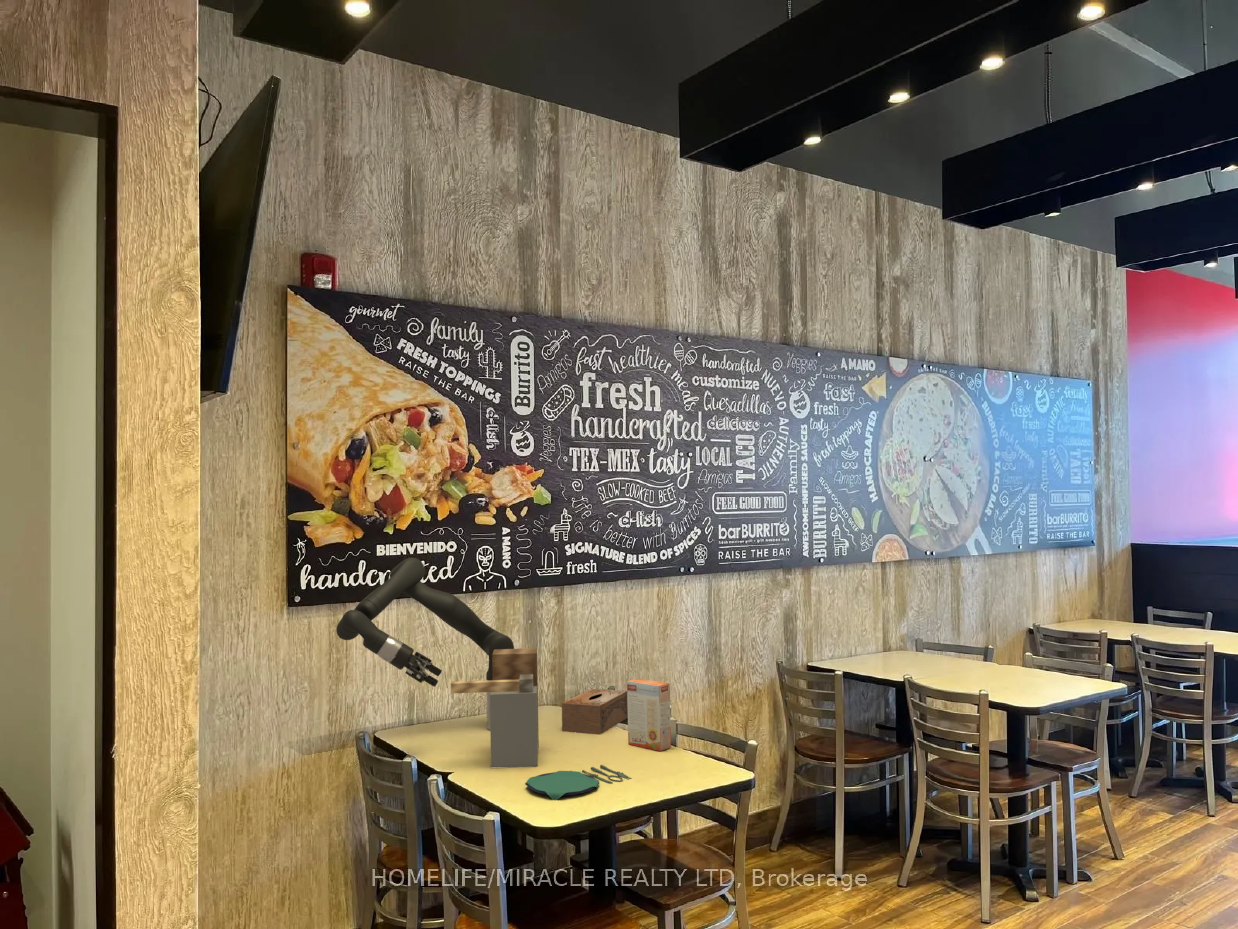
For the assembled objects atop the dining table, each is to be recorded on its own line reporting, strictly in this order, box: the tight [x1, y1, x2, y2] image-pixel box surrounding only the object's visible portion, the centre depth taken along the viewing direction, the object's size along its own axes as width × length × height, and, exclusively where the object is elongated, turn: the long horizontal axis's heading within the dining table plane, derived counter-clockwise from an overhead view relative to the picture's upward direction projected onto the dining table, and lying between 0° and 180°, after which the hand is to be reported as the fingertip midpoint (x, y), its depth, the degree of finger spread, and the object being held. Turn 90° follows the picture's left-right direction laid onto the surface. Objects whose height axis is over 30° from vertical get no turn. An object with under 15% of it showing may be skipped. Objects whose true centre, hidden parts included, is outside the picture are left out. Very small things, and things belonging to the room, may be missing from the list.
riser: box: [492, 647, 540, 750], centre depth 289 cm, size 14×10×32 cm
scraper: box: [450, 674, 533, 694], centre depth 277 cm, size 25×8×4 cm, turn 94°
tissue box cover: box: [561, 688, 628, 735], centre depth 323 cm, size 26×14×10 cm, turn 158°
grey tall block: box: [489, 686, 539, 768], centre depth 277 cm, size 14×10×22 cm
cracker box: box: [626, 678, 672, 752], centre depth 292 cm, size 14×6×21 cm, turn 47°
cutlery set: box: [524, 764, 633, 801], centre depth 254 cm, size 20×30×2 cm, turn 127°
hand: (438, 678), depth 288 cm, fingers open, 8 cm apart
